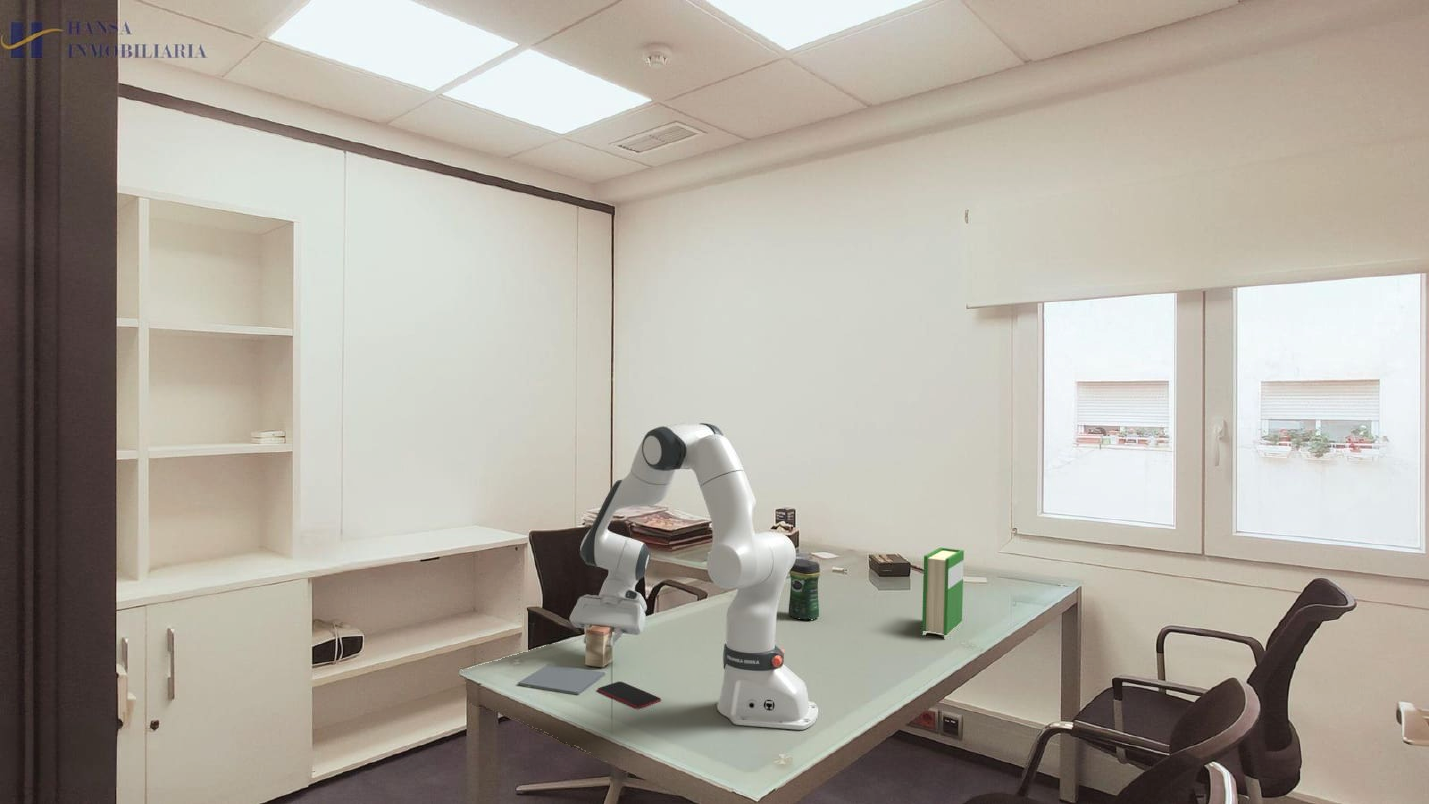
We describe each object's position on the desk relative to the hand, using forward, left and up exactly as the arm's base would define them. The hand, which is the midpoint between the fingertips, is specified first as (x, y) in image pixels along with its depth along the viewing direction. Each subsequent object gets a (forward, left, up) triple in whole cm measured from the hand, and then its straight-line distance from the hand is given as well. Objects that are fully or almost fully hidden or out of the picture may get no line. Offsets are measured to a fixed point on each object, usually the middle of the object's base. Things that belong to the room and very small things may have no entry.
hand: (597, 644), depth 194 cm
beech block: (0, -1, -5) cm, 5 cm away
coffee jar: (-41, -66, -6) cm, 78 cm away
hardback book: (-84, -69, -6) cm, 109 cm away
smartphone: (-16, +15, -6) cm, 23 cm away
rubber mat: (+3, +12, -5) cm, 14 cm away
